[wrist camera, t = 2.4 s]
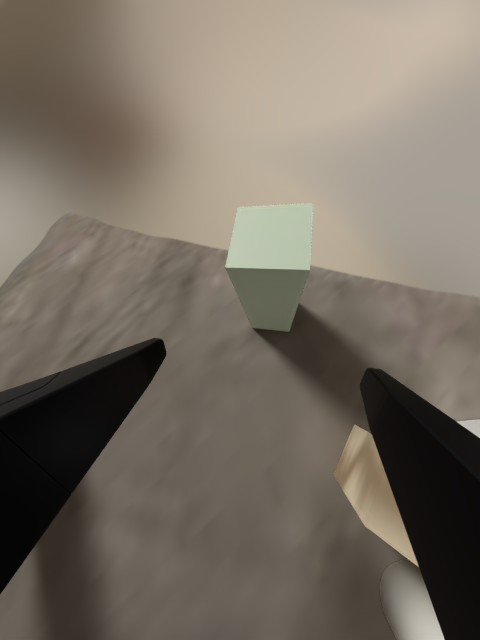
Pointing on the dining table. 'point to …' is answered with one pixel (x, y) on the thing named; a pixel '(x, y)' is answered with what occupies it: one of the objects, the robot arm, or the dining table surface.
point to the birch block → (371, 491)
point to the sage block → (271, 261)
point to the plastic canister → (408, 603)
